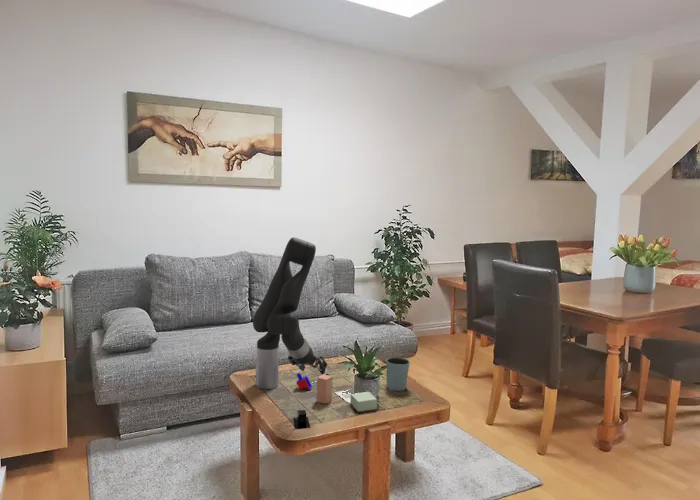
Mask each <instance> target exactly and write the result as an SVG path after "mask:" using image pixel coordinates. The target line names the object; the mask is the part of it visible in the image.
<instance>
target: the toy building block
mask: <svg viewBox="0 0 700 500" xmlns="http://www.w3.org/2000/svg"><path fill="white" fill-rule="evenodd" d="M296 376H297V378H298V379H297V380H296V385H297V387H298V389H299V390H303V389H305V388H307V390H308V391H310V390H311V389H312V387H313V386H312V383H311V381H310V379H309V378H308V376H302V374H301V372H299V373H296Z"/></svg>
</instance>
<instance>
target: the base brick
mask: <svg viewBox="0 0 700 500" xmlns="http://www.w3.org/2000/svg"><path fill="white" fill-rule="evenodd" d="M349 404H350V405H351V404H352V405H353V406H352V405H351V406H352V407H353V408H354V409H355V410H356V411H357V412H364V411H371V410H373V411H374V410H377V409H378V399H377V398H376V396H374V394H373V393H372V392H370V391H365V392H364V391H363V392H358V393H355V394H351V399H350V403H349Z"/></svg>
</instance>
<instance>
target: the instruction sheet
mask: <svg viewBox="0 0 700 500" xmlns="http://www.w3.org/2000/svg"><path fill="white" fill-rule="evenodd" d="M345 390H346V391H348V390H349V389H345ZM346 391H344V390H339V391H336V392H334V394H335V393H336V394H335V395H336V396H338V397H339V396H340V397H339V398H341V399H342V398H343V399H344V400H343V399H342V400H343V401H345V402H346V403H347V402H348V403H347V404H350V399H351V393H349V392H348V394H346V393H342V392H346ZM342 394H343V395H342Z"/></svg>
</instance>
